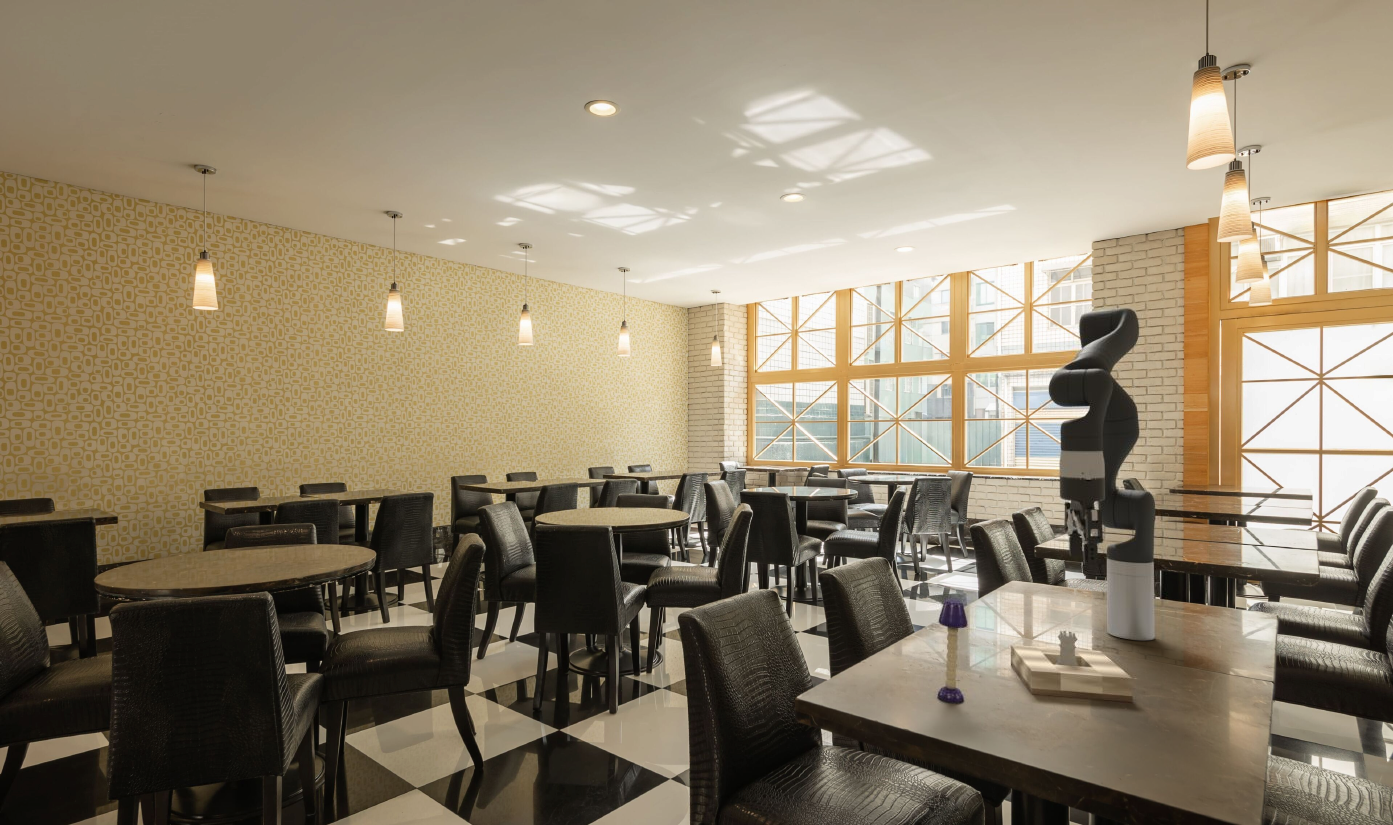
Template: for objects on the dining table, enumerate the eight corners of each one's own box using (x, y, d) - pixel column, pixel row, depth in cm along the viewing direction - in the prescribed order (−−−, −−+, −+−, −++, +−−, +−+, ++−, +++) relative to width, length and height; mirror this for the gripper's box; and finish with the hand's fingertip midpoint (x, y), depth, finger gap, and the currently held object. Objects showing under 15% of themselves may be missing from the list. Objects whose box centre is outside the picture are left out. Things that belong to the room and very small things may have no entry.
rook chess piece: (1084, 681, 128) (1084, 636, 128) (1057, 679, 129) (1056, 634, 129) (1078, 674, 132) (1077, 630, 132) (1051, 671, 133) (1051, 628, 133)
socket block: (1010, 665, 140) (1010, 644, 140) (1099, 672, 136) (1099, 650, 137) (1031, 693, 124) (1031, 670, 124) (1132, 702, 121) (1132, 678, 121)
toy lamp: (967, 696, 122) (966, 599, 123) (967, 705, 118) (967, 604, 119) (937, 692, 124) (937, 596, 125) (937, 702, 120) (937, 602, 120)
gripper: (1049, 472, 142) (1051, 553, 142) (1071, 477, 128) (1073, 567, 128) (1090, 472, 141) (1092, 554, 140) (1117, 477, 127) (1119, 569, 126)
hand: (1083, 560), depth 134 cm, fingers open, 8 cm apart
